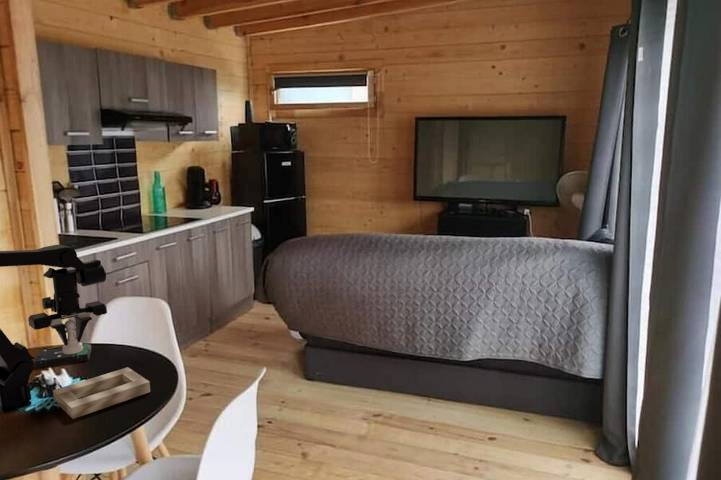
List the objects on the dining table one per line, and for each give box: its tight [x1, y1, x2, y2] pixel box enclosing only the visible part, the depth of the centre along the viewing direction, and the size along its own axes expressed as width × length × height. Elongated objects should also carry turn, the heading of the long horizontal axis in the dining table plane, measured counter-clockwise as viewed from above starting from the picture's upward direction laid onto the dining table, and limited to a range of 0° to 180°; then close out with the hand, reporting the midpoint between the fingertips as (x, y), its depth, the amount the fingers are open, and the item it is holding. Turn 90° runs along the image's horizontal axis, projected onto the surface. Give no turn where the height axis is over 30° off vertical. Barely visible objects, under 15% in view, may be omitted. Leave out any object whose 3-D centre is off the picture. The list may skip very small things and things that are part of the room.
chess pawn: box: [61, 319, 83, 354], centre depth 153 cm, size 5×5×9 cm
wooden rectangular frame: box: [52, 366, 151, 420], centre depth 147 cm, size 20×14×3 cm
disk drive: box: [34, 343, 92, 369], centre depth 174 cm, size 10×3×15 cm
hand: (72, 343), depth 154 cm, fingers closed on chess pawn, 3 cm apart
